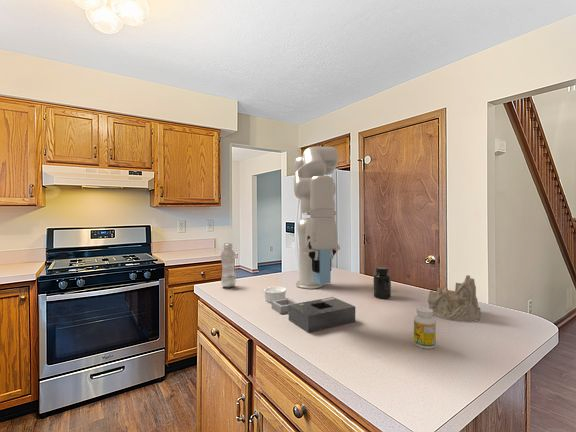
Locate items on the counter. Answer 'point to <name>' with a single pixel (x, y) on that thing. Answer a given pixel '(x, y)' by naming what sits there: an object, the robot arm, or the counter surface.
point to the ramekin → (274, 293)
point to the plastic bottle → (228, 266)
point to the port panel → (321, 314)
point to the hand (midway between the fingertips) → (321, 270)
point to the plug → (323, 267)
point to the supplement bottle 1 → (382, 283)
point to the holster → (282, 305)
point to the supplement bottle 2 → (424, 328)
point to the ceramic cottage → (456, 302)
